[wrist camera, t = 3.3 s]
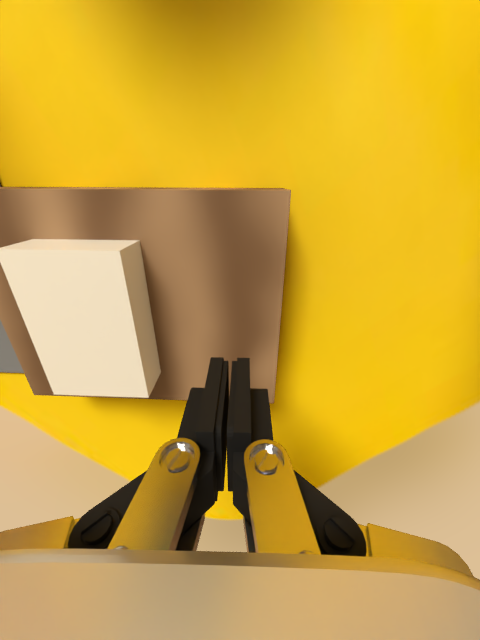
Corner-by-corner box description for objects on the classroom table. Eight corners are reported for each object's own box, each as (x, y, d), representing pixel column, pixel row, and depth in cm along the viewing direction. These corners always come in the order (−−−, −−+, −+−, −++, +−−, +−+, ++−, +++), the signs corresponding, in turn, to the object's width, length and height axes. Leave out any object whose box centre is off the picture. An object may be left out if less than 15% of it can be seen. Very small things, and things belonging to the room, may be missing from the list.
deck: (283, 188, 17) (290, 190, 13) (270, 369, 23) (273, 403, 20) (4, 187, 18) (-59, 188, 14) (66, 363, 24) (34, 394, 20)
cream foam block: (139, 240, 15) (119, 250, 13) (160, 372, 19) (148, 397, 17) (33, 239, 15) (-6, 248, 13) (76, 369, 19) (53, 394, 17)
